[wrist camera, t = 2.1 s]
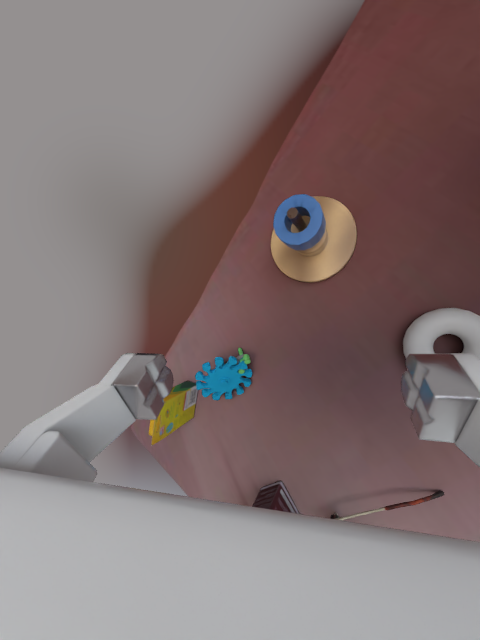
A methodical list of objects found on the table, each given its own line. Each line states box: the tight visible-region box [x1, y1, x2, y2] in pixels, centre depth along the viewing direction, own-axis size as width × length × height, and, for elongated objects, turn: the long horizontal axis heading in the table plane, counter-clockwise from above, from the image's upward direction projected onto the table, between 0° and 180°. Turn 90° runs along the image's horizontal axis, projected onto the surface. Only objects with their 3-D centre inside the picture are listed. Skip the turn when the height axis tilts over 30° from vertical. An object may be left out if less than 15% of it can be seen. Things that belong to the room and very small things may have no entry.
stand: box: [271, 196, 357, 282], centre depth 34 cm, size 13×13×14 cm
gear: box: [195, 348, 252, 400], centre depth 46 cm, size 11×6×10 cm
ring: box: [273, 194, 326, 250], centre depth 32 cm, size 6×6×4 cm
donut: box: [403, 308, 480, 360], centre depth 33 cm, size 10×3×10 cm
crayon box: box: [149, 381, 198, 445], centre depth 47 cm, size 7×3×12 cm, turn 169°
